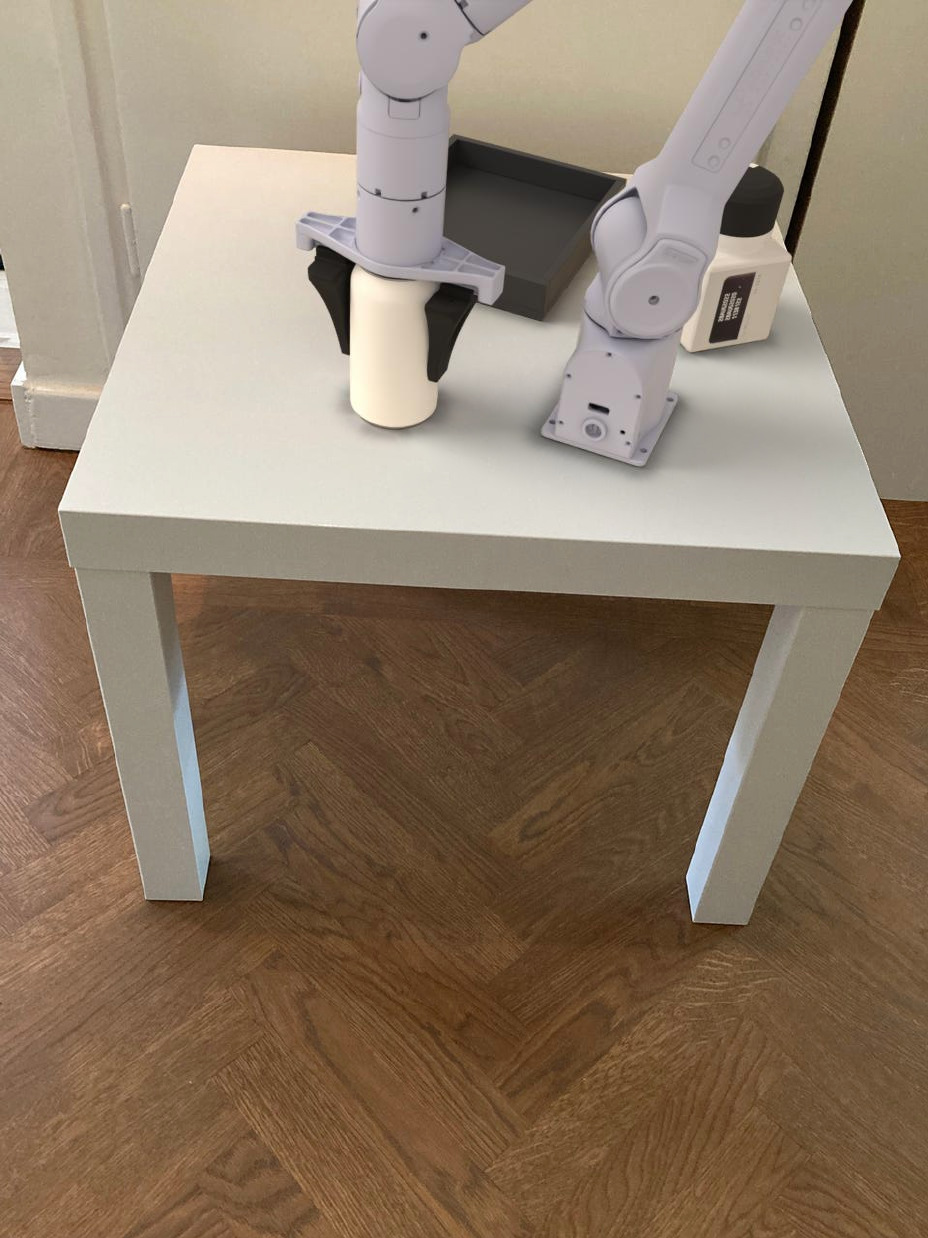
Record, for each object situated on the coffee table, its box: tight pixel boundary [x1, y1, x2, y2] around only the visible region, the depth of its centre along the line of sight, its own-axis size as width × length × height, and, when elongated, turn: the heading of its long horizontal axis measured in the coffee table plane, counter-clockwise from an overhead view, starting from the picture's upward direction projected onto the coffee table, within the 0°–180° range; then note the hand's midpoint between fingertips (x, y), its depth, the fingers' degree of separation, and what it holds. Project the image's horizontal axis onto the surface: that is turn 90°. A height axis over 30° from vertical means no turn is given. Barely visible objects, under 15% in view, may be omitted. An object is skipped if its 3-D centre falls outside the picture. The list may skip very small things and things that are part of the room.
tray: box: [443, 133, 628, 322], centre depth 103 cm, size 22×18×3 cm
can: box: [349, 264, 440, 430], centre depth 82 cm, size 6×6×12 cm
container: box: [680, 162, 793, 353], centre depth 92 cm, size 8×8×13 cm
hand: (394, 361), depth 83 cm, fingers closed on can, 6 cm apart
